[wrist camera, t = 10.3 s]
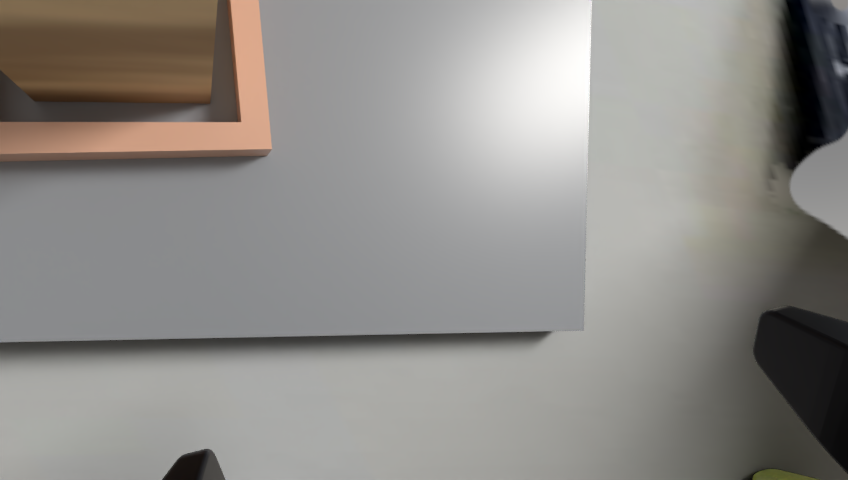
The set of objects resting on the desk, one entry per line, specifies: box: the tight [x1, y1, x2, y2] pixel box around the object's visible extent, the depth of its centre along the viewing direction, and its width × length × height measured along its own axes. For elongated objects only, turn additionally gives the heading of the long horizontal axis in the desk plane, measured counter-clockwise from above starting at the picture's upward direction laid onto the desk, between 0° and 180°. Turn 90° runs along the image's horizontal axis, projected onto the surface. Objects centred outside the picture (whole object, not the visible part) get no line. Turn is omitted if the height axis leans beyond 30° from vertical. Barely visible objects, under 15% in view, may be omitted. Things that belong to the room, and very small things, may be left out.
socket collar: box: [0, 0, 272, 162], centre depth 15 cm, size 8×8×1 cm
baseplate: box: [0, 0, 592, 342], centre depth 19 cm, size 22×16×2 cm
